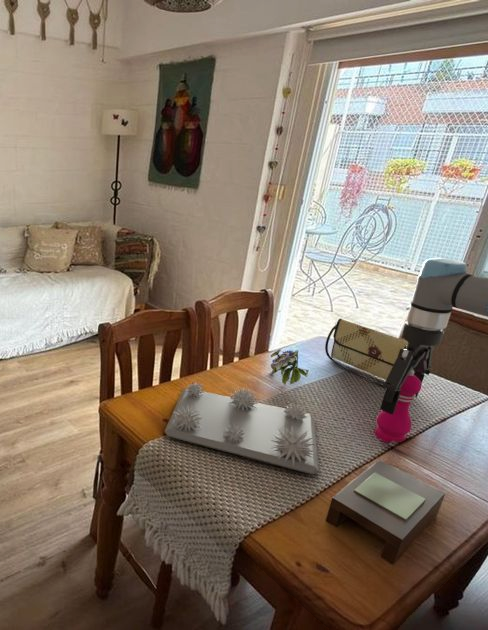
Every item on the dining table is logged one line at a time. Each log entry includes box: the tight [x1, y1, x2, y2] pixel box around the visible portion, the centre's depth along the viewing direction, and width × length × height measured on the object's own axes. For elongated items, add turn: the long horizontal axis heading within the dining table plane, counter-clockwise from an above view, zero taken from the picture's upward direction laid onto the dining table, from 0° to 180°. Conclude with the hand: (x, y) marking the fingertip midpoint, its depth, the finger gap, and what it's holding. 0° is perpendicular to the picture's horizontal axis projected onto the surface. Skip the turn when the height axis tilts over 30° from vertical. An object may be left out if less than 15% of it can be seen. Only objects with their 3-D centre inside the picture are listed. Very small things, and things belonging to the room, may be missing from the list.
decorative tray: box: [164, 381, 320, 475], centre depth 114 cm, size 35×26×10 cm
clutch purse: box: [324, 318, 425, 388], centre depth 142 cm, size 30×7×15 cm, turn 27°
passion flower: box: [270, 348, 310, 386], centre depth 141 cm, size 11×11×12 cm
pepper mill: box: [374, 369, 423, 444], centre depth 110 cm, size 7×7×20 cm
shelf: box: [325, 459, 446, 565], centre depth 87 cm, size 12×20×6 cm, turn 124°
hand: (398, 403), depth 110 cm, fingers open, 13 cm apart
